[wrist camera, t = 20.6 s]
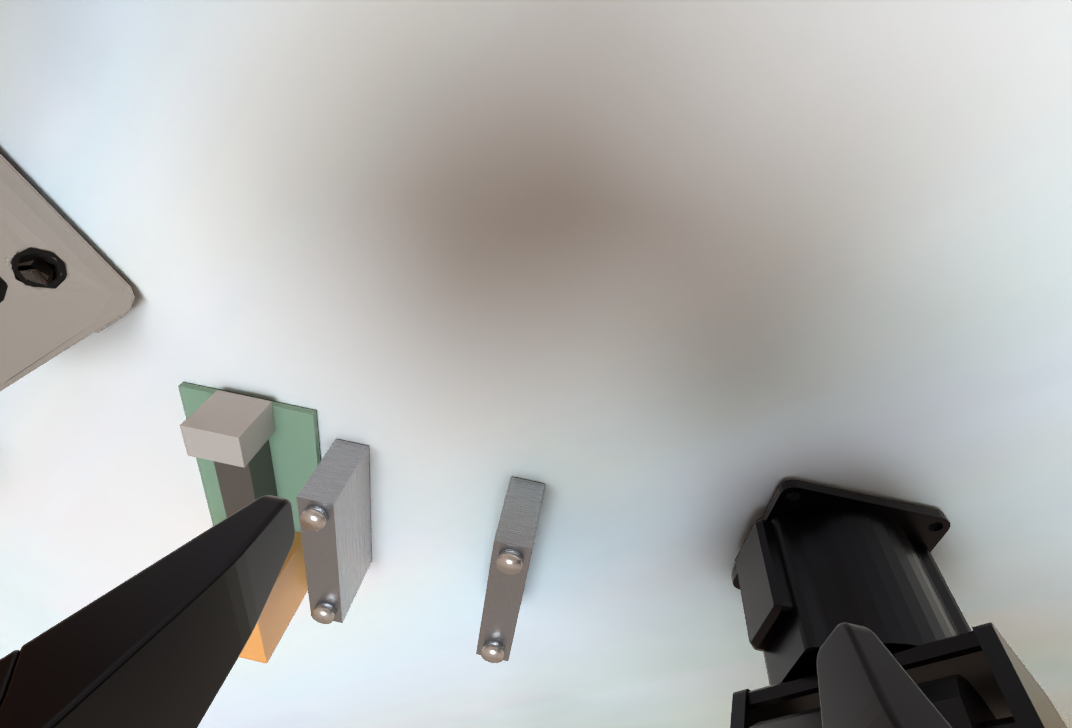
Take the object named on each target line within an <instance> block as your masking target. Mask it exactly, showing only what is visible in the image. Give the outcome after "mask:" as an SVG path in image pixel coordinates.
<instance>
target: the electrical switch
mask: <svg viewBox="0 0 1072 728" xmlns="http://www.w3.org/2000/svg"><path fill="white" fill-rule="evenodd" d="M28 269H30V270H31V271H32V272H33V273H34V274H35V275H36V276H37V277H38V278H40V279H41V280H42V281H43V282H44V283H45V284H46V285H42V284H38V283H35V282H32V281H29V280H26V279H25V278H24V277H23V275H22V274H21V273H20V272H19V271H22V270H28ZM134 299H135V296H134V293H133V291H132V288H131V286H130V285H129V284H128V283H127V282H126V281H125V280H124V279H123V278H122V277H121V276H120V275H119V274H118V273H117V272H116V271H115V270H114V269H113V268H112V267H111V266H110V265H109V264H108V263H107V262H106V261H105V260H104V259H103V258H102V257H101V256H100V255H99V254H98V253H97V252H96V251H95V250H94V249H93V248H92V247H91V246H90V245H89V244H88V243H87V242H86V241H85V239H84V238H83V237H82V236H81V235H80V234H79V233H78V232H77V231H76V230H75V229H74V228H73V227H72V226H71V225H70V224H69V223H68V222H67V221H66V220H65V219H64V218H63V217H62V216H61V215H60V214H59V213H58V212H57V211H56V210H55V209H54V208H53V207H52V206H51V205H50V204H49V203H48V202H47V201H46V200H45V199H44V198H43V197H42V196H41V195H40V194H39V193H38V192H37V191H36V190H35V189H34V188H33V187H32V185H31V184H30V183H29V182H28V181H27V180H26V179H25V178H24V177H23V176H22V175H21V174H20V173H19V172H18V171H17V170H16V169H15V168H14V167H13V166H12V165H11V164H10V163H9V162H8V161H7V160H6V159H5V158H4V157H3V156H2V155H1V154H0V391H1V390H3V389H5V388H6V387H8V386H9V385H11V384H12V383H14V382H16V381H17V380H19V379H20V378H22V377H23V376H25V375H27V374H28V373H30V372H31V371H33V370H35V369H36V368H38V367H39V366H41V365H42V364H44V363H46V362H47V361H49V360H50V359H52V358H54V357H55V356H57V355H58V354H60V353H61V352H63V351H65V350H66V349H68V348H69V347H71V346H72V345H74V344H76V343H77V342H79V341H80V340H82V339H84V338H85V337H87V336H88V335H90V334H91V333H93V332H95V331H96V332H100V331H101V330H103V329H105V328H106V327H108V326H109V325H111V324H112V323H114V322H115V321H117V320H118V319H120V318H122V317H123V316H125V315H126V313H127V312H128V311H129V310H130V309H131V307H132V304H133V302H134Z"/></svg>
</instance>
